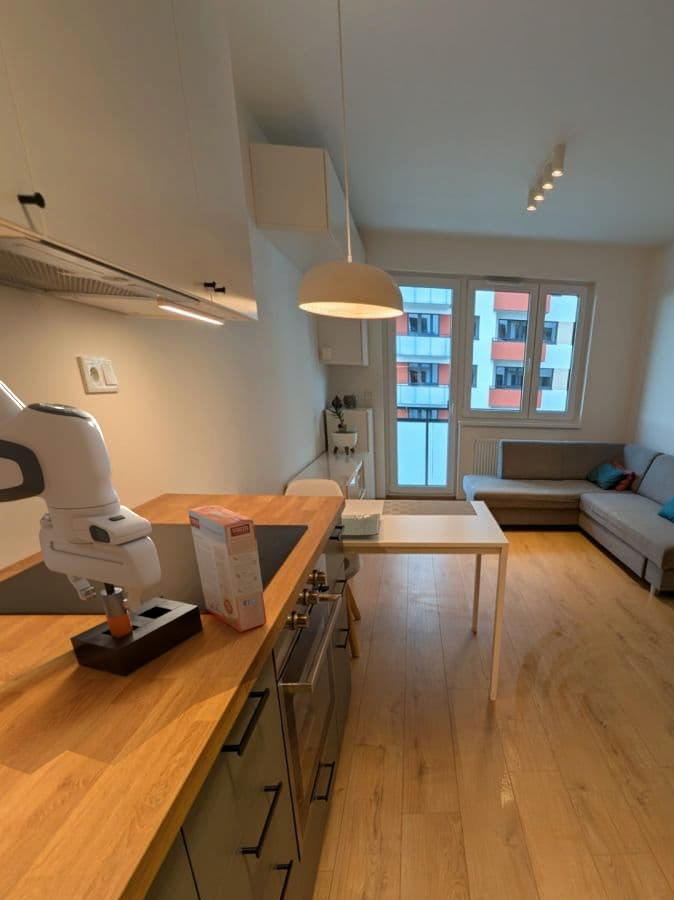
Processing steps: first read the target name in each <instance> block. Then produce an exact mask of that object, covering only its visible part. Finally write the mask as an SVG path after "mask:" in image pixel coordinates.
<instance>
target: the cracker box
mask: <svg viewBox="0 0 674 900" xmlns="http://www.w3.org/2000/svg"><path fill="white" fill-rule="evenodd" d="M187 513H188V519H189V523H190V529H191V533H192V539H193V545H194V550H195V555H196V560H197V567H198V571H199V578H200V583H201V584H200V585H201V589H202V594H203V599H204V603H205V604H204V605H205V610H206V611H208V612H209V613H211V614H212V615H214V616H215V617H216V618H218V619H219V620H221V621H223V622H224V623H225V624H226V625H228V626H230V627H231V628H232V629H234V630H236V632H239V633H243V632H245V631H248V630H252V629H255V628H257V627H260V626H264V625H266V624H268V621H267V614H266V613H267V612H266V607H265V606H266V605H265V598H264V589H263V583H262V574H261V567H260V559H259V551H258V542H257V536H256V529H255V528H256V527H255V520H254V519H252V518H250V517H248V516H245V515H243V514H240V513H238V512H236V511H232V510H230V509H227V508H225V507H223V506H220V505H218V504H213V505H212V504H211V505H205V506H201V507H194V508H189V509H188V510H187Z"/></svg>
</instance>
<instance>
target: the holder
mask: <svg viewBox="0 0 674 900" xmlns="http://www.w3.org/2000/svg"><path fill="white" fill-rule="evenodd" d="M127 611H128V613H129V617H130V621H131V625H132V628H133V631H132V632H130V633H128V634H126V635H124V636H122V637H120V638H118V637H114V636H111V632H110V629H109V625H108V622H107V620H105V621H103V622H101V623H99V624H96V625H95V626H92V627H91V628H89V629H87V630H84V631H82V632H80V633H78V634H76V635H74V636H72V637H70V638H69V640H70V643H71V646H72V649H73V652H74V655H75V658H76V662H77V664H78V665H79V666H82V667H86V668H90V669H94V670H98V671H101V672H105V673H109V674H113V675H117V676H120V677H125V678H126V677H128V676H129V675H131V674H132V673H135V672H137V671H138V670H139V669H141V668H143V667H144V666H146V665H148V664H149V663H151V662H153V661H154V660H156V659H157V658H159V657H160V656H163V655H164V654H165V653H168V652H169V651H171V650H172V649H174V648H176V647H177V646H180V645H181V644H182V643H184V642H186V641H187V640H189V639H191V638H192V637H193V636H195V635H197V634H199V633H201V632H202V631H204V627H203V622H202V616H201V612H200V607H199V605H196V604H192V603H191V604H190V603H186V602H183V601H177V600H171V599H167V598H162V597H158V596H155V597H153V598H151V599H149V600H147V601H145V602H142V603H141V608H140V609H138V610H136V611H130V610H127Z"/></svg>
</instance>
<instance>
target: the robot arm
mask: <svg viewBox="0 0 674 900" xmlns="http://www.w3.org/2000/svg"><path fill="white" fill-rule="evenodd" d="M107 447H108V446H107V445H106V441H105V438H104V435H103V433H102V430H101V428H100V426H99V424H98V421H96V418H94V416H93V415H92V414H90V413H89V412H87V411H85V410H83V409H81V408H79V407H75V406H71V405H66V404H60V403H48V402H34V403H30V404H27V405H25V403H23V402H22V401H21V400H20V399H19V398H18V397H17V396H16V395H15V394H14V392H13V391H11V389H10V388H8V386H7V385H6V384H5V383H4V382H3V381H2V380H1V379H0V504H1V503H12V502H16V501H22V500H26V499H30V498H36V497H37V498H41V499H43V500H44V501H45V504H46V508H47V510H48V512H47V513H44V514H43V515H42V516H41V518H40V519H39V526H40V529H39V532H38V540H39V545H40V551H41V556H42V559H43V562H44V565H45V566H46V567H47V568H48V570H50V572H55V573H59V574H65V575H66V576H67V579H68V581H69V582H70V584H71V585H72V586H73V587H74V588H75V590H76V591H77V593H78V598H79V599H80V600H83V601H91V600H94V599H96V598H97V593H96V588H95V587H93V586H91V585H90V582H89V581H88V580H91V581H95V582H96V581H97V582H101V583H104V582H105V583H109V584H114V586H119V587H123V589H124V592H125V593H127V598H124V600H123V603H124V605H125V606H124V607H125V609H127V611H128V610H130V611H136V610H138V609H140V608H141V604H142V602H141V597H142V594H143V591H146V590H147V589H150V588H152V587H155V586H156V585H158V584H159V583H160V581H161V579H162V569H161V564H160V560H159V556H158V551H157V548H156V545H155V543H154V541H153V540H152V539H151V538H150V537H149V536H148V535H151V534H152V533H153V528H152V524H151V522H150V521H149V520H147V519H146V518H145V517H142V516H140V515H138V514H137V513H135V512H133V511H132V510H130V509H129V508H128V507H126V506H125V505H122V504H121V501H120V496H119V494H118V492H117V490H116V489H115V487H114V484H113V467H112V461H111V458H110V455H109V451H108V448H107Z"/></svg>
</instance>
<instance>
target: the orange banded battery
mask: <svg viewBox="0 0 674 900" xmlns="http://www.w3.org/2000/svg"><path fill="white" fill-rule="evenodd" d="M103 585H104V589H103V590H101V591H100V592H99V596H100V600H101V602H102V606H103V609H104V613H105V618H106V621H107V622H108V625H109V629H110V632H111V636H114V637H118V638H120V637H122V636H124V635H126V634H128V633H130V632H132V631H133V628H132V625H131V621H130V617H129V613H128V610H127V609H125V607H124V606H125V605H124V603H123V600H125V596H124V593H123V589H122V588H121V587H115V585H114V584H109V583H105V582H103Z"/></svg>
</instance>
